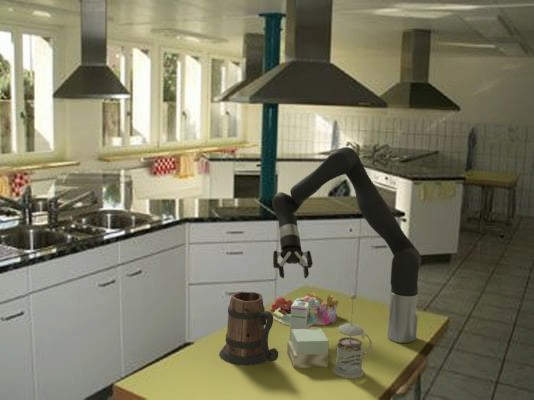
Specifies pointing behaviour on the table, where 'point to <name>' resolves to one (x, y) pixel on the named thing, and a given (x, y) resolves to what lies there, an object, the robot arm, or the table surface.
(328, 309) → the candy dessert plate
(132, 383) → the table surface
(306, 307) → the syrup box
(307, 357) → the tower bottom block
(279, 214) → the robot arm
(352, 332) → the french press
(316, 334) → the tower top block
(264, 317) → the tankard
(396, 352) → the table surface
